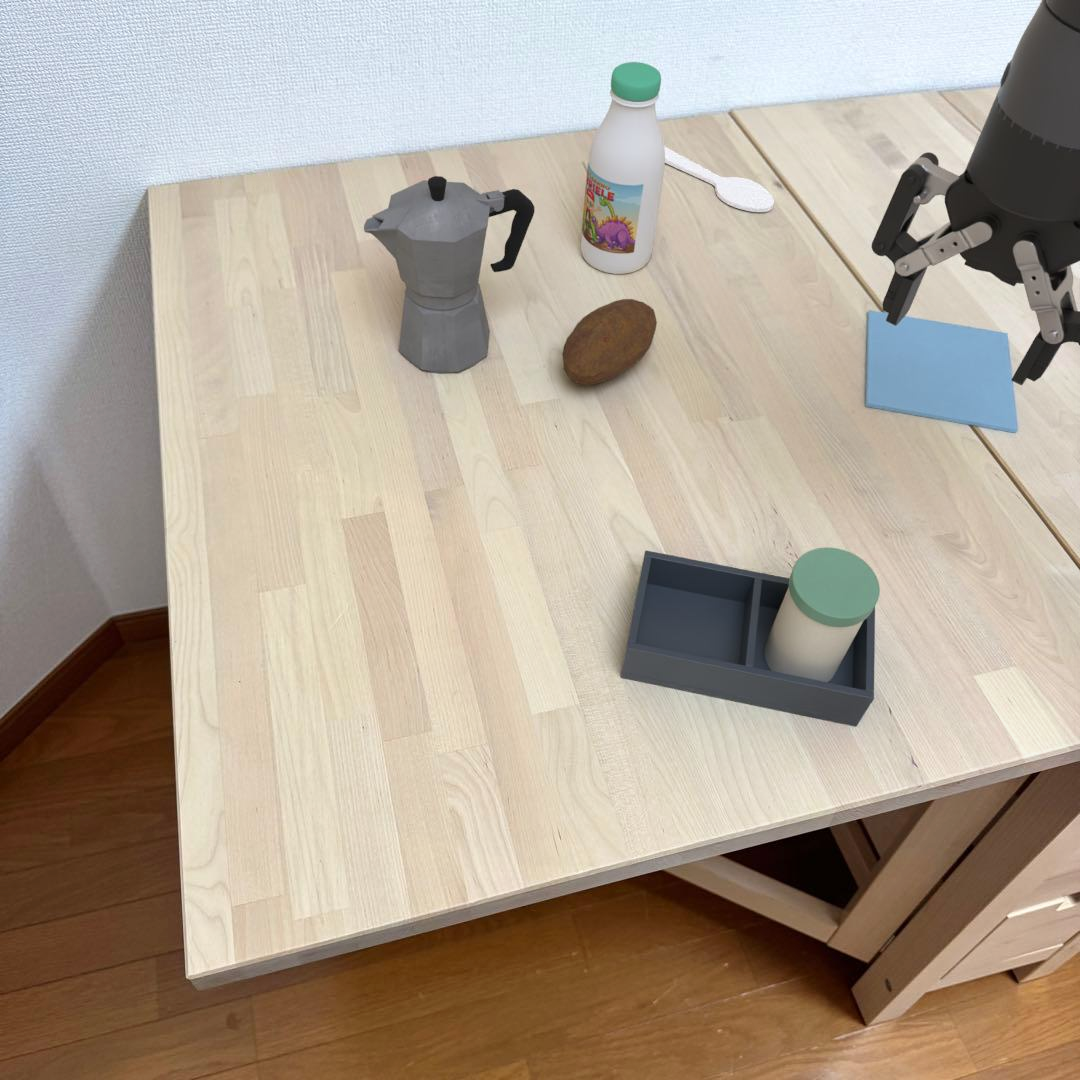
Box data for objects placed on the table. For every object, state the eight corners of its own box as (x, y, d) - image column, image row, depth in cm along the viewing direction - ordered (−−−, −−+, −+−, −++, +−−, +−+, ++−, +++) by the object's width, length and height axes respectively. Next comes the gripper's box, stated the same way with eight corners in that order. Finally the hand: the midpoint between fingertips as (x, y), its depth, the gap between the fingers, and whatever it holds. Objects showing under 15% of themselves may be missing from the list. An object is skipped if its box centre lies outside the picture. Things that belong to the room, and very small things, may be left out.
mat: (1005, 336, 102) (1007, 333, 102) (1016, 433, 94) (1018, 429, 93) (867, 313, 103) (868, 309, 103) (865, 406, 95) (866, 402, 95)
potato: (541, 384, 95) (544, 327, 90) (610, 322, 101) (617, 265, 95) (599, 416, 93) (605, 360, 87) (666, 351, 99) (676, 295, 93)
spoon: (660, 139, 122) (660, 135, 122) (783, 199, 115) (784, 195, 115) (632, 156, 119) (633, 152, 119) (757, 219, 112) (758, 215, 112)
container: (841, 632, 78) (880, 556, 70) (838, 698, 75) (879, 626, 67) (764, 617, 79) (795, 539, 71) (758, 682, 75) (789, 608, 67)
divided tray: (638, 581, 81) (645, 549, 78) (859, 625, 80) (875, 594, 76) (620, 677, 76) (626, 648, 72) (856, 727, 74) (874, 699, 71)
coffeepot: (391, 389, 94) (374, 224, 80) (367, 326, 99) (346, 161, 85) (545, 356, 97) (554, 192, 83) (513, 296, 103) (517, 133, 89)
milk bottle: (618, 223, 111) (639, 43, 95) (666, 258, 108) (696, 77, 92) (565, 249, 108) (578, 67, 92) (613, 285, 105) (634, 103, 89)
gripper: (1239, 125, 50) (1086, 366, 63) (973, 31, 55) (882, 272, 68) (1195, 189, 47) (1042, 431, 59) (915, 82, 52) (830, 327, 64)
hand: (957, 346), depth 64 cm, fingers open, 8 cm apart
